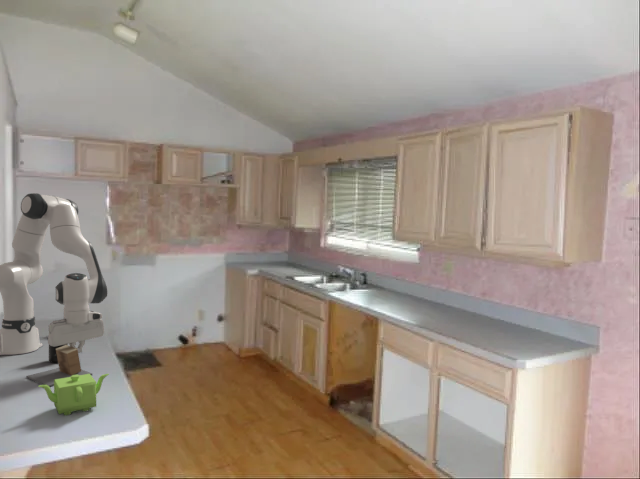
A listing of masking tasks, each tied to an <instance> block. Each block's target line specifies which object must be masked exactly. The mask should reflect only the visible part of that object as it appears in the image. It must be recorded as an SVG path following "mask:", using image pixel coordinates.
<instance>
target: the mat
mask: <svg viewBox="0 0 640 479" xmlns="http://www.w3.org/2000/svg"><path fill="white" fill-rule="evenodd" d="M85 374H90V375H91V376H93V373H92V372H89V371H86V370H84V369H82V368H81V371H80V372H78V373H76V374H73V375H85ZM70 376H72V375H68V374H66V373H63V372H61V371H60V369H59V367H57V368H51V369H49V370H44V371H41V372H37V373H32V374H28V375H26V379H29V380H31V381H34V382H36V383H37V384H39V385H48V386H49V387H50V388H51V387H54V380H55V379H61V378H67V377H70Z"/></svg>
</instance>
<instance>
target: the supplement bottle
mask: <svg viewBox="0 0 640 479" xmlns="http://www.w3.org/2000/svg"><path fill="white" fill-rule="evenodd" d="M65 345H68V346H69V344H65ZM62 346H64V345H60V346H55V347H53V346H50V345H49V344H48V362H49V363H52V364H58V359H57V354H56V348H59V347H62Z"/></svg>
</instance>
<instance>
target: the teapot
mask: <svg viewBox="0 0 640 479" xmlns="http://www.w3.org/2000/svg"><path fill="white" fill-rule="evenodd" d="M109 375H110V373H104V374H102V375H100V376H99V378H98V380H95V378H93V375H90V374H85V375H72V376H70V377H67V378H61V379H55V380H54V386H53V391H52V389H51V387H49V386H48V385H42V384H39V385H38V386H37V387H38V388H42V389H44V390H45V392H46V395H47V397H48V399H49V401H50V402H51V403H53V405H54V407H55V410H56V411H57V414H58V415H62V414H63V416H70V415H71V414H72V412H77V411H82V412H88V411H90V409H91V408H96V407H97V394H98V393H99V392H100V390H101V388H102V383H103V381H104V379H106V377H107V376H109Z"/></svg>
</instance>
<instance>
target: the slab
mask: <svg viewBox="0 0 640 479" xmlns="http://www.w3.org/2000/svg"><path fill="white" fill-rule="evenodd" d="M56 354H57V359H58V363H57V364H58V368H59V369H60V371H61V372H63V373H66V374H68V375H73V374H76V373H78V372H80V371H81V369H82V368H81V361H80V355H79V353H78V350H77V347H76V348H74V347H71V346H70V345H69V344H68V345H64V346H62V347H59V348H56Z"/></svg>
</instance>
